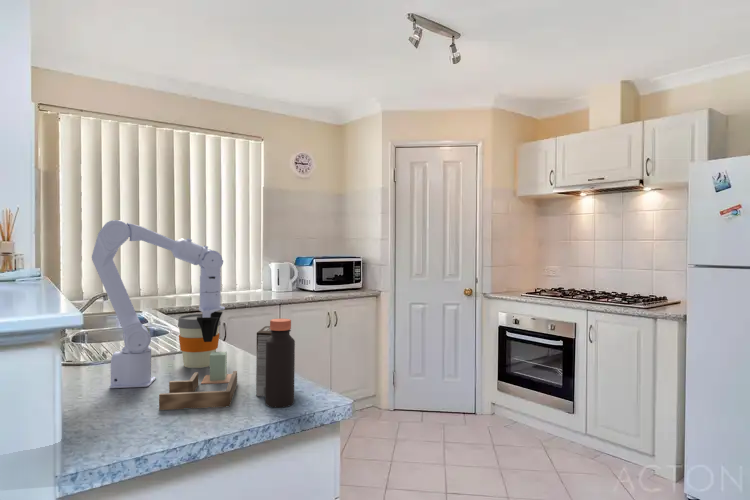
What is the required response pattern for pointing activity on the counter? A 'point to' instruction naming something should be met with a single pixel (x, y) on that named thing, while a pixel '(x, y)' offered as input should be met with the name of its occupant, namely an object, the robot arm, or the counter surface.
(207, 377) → the tile
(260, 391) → the coffee box
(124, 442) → the counter surface
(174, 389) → the channel
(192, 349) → the reusable coffee cup
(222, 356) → the sage block
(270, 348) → the bottle
